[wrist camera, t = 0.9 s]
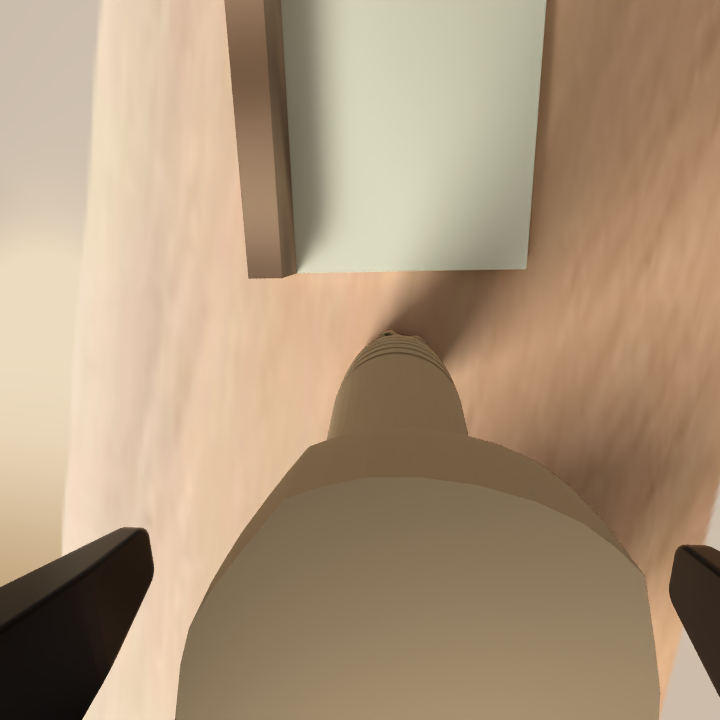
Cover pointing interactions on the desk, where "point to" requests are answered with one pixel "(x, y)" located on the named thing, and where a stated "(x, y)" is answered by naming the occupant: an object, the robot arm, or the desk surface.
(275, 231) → the walls
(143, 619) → the desk surface
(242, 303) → the desk surface
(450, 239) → the pad
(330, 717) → the handle
